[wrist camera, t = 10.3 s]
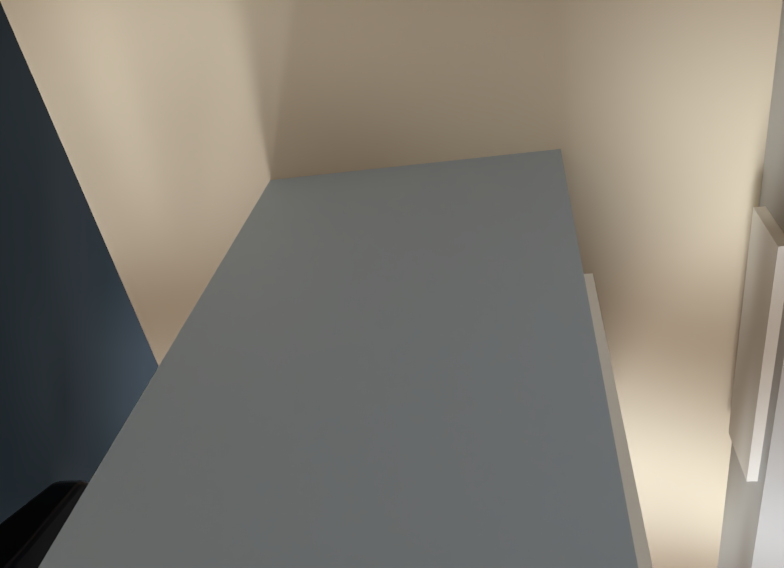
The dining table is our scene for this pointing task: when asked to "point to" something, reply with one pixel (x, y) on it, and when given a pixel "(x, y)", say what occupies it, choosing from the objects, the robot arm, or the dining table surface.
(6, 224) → the dining table surface
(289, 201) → the block
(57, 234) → the dining table surface
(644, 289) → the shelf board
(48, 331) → the dining table surface
